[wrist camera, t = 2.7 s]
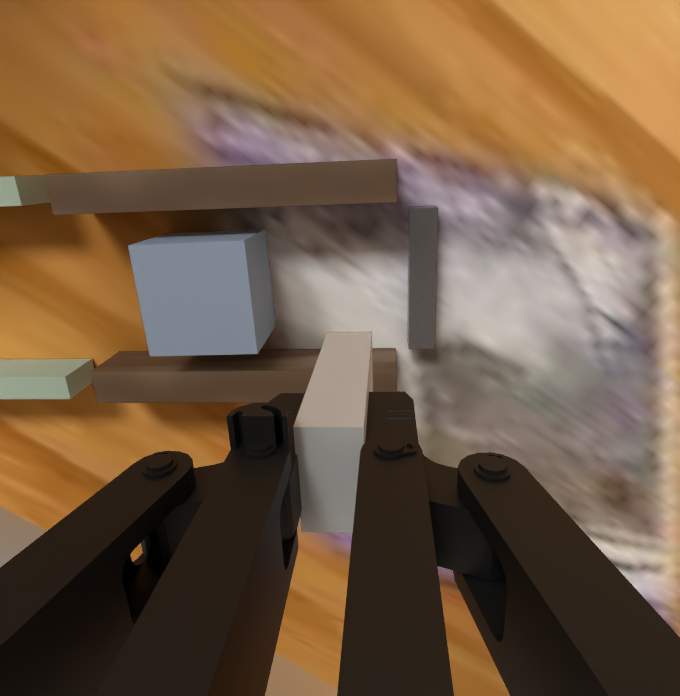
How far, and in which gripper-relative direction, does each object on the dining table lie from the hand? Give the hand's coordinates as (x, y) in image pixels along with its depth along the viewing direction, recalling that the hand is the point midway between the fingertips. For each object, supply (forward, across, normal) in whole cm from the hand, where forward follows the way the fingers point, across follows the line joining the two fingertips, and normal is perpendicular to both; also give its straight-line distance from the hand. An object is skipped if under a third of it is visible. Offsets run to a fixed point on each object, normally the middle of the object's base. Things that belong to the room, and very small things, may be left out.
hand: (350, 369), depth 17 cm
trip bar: (+14, +3, 0) cm, 14 cm away
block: (+14, -9, 0) cm, 16 cm away
